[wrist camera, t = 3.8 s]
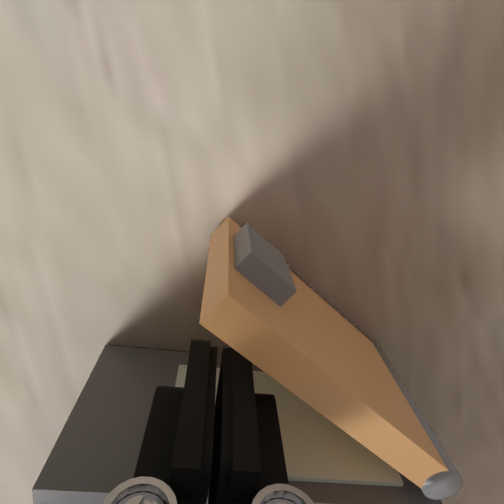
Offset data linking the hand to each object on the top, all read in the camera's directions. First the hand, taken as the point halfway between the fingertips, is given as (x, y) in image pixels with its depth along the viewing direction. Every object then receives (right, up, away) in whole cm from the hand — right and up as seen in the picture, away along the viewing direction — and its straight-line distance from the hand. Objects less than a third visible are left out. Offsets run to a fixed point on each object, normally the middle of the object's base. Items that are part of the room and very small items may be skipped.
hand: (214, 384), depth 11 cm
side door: (+3, +2, +4) cm, 5 cm away
